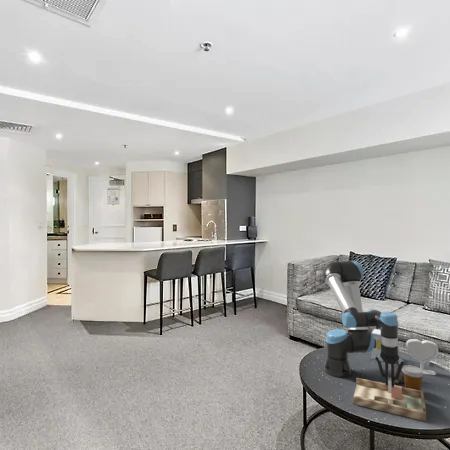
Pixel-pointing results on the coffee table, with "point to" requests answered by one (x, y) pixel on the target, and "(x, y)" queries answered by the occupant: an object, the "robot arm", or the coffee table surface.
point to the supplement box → (376, 343)
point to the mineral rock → (401, 377)
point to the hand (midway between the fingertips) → (389, 391)
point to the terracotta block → (396, 392)
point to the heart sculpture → (422, 352)
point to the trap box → (389, 399)
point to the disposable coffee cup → (412, 377)
